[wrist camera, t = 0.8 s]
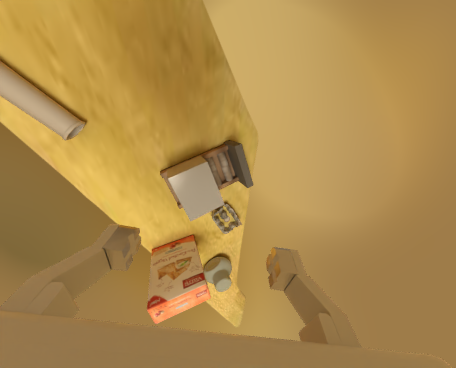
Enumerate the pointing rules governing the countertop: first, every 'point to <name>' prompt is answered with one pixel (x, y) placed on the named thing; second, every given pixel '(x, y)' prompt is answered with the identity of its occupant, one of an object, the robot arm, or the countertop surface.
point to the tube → (37, 104)
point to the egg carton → (225, 219)
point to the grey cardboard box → (195, 187)
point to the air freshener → (218, 273)
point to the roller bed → (205, 155)
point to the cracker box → (175, 279)
